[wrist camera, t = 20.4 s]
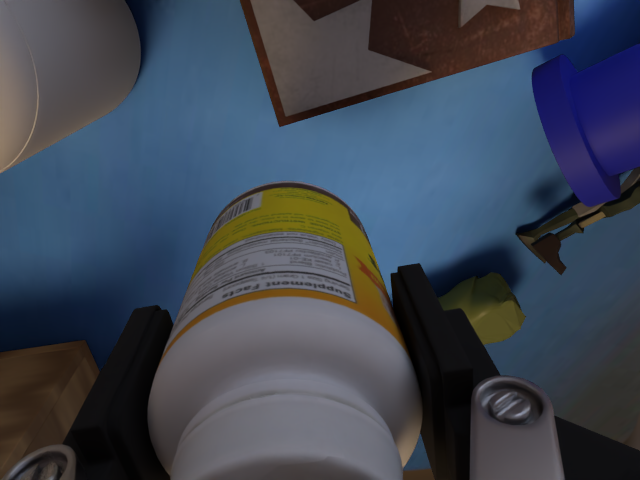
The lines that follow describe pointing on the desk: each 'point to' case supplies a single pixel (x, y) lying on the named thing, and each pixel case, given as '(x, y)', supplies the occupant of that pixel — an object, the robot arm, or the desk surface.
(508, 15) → the book
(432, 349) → the robot arm
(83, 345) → the chest
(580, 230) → the zombie figurine
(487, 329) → the pear
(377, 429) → the supplement bottle
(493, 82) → the desk surface
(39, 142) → the pill bottle
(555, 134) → the mount
